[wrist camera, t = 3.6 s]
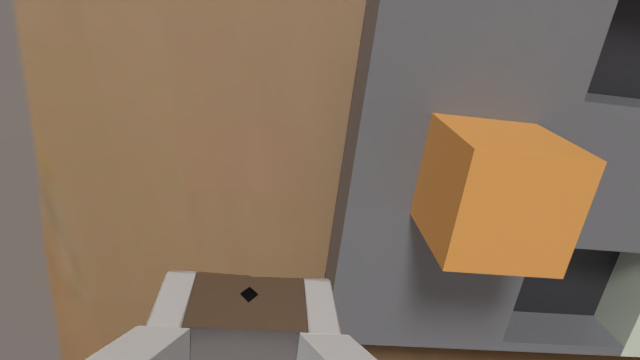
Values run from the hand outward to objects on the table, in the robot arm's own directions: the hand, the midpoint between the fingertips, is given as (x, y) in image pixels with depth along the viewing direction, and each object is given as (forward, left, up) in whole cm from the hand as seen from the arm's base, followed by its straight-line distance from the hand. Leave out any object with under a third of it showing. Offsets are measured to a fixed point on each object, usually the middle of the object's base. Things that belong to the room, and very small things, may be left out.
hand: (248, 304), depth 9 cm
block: (-8, 0, -9) cm, 12 cm away
